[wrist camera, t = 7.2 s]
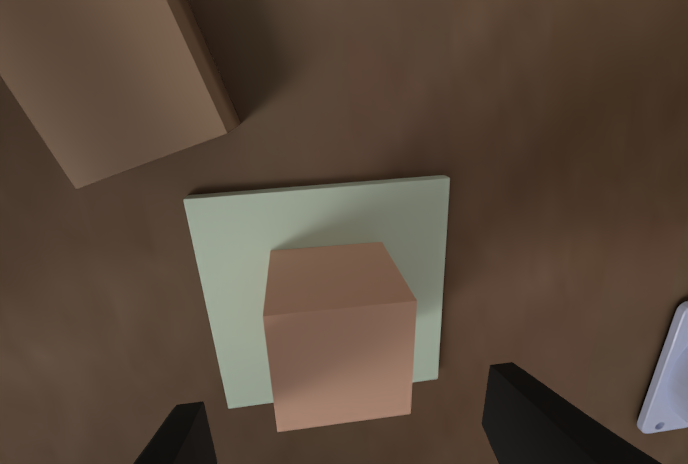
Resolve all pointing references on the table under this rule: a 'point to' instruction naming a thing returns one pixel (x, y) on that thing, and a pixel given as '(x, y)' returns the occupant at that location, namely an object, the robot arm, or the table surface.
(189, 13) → the walnut brick
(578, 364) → the table surface
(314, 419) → the terracotta brick
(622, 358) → the table surface
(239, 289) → the base tile
